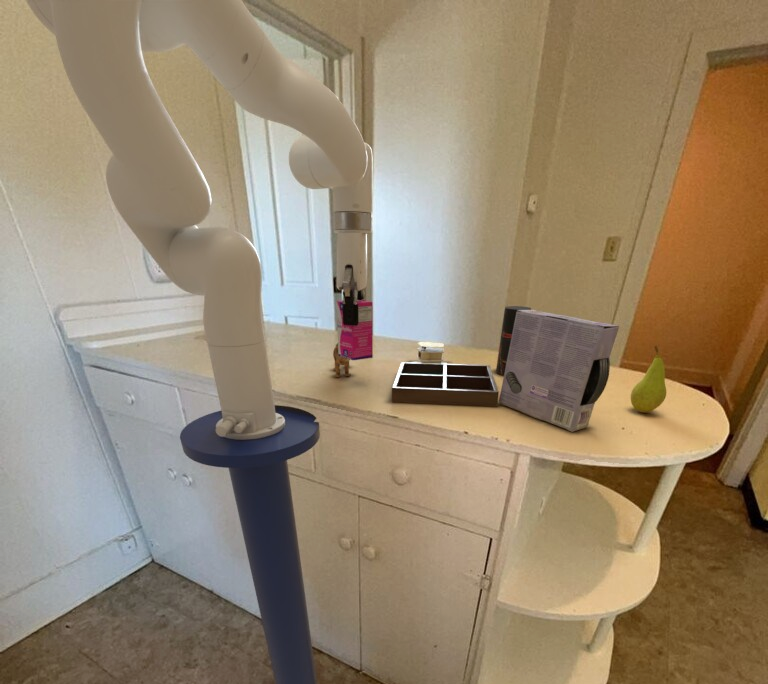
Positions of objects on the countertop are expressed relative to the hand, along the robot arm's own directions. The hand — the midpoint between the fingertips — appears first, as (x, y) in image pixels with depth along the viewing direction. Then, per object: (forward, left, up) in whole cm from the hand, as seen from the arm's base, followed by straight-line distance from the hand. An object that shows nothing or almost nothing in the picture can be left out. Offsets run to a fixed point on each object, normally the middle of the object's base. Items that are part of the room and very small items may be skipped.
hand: (354, 321), depth 92 cm
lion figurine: (+9, +5, -14) cm, 17 cm away
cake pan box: (-16, -39, -14) cm, 45 cm away
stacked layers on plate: (+19, -16, -14) cm, 28 cm away
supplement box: (0, 0, -8) cm, 8 cm away
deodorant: (+15, -36, -14) cm, 41 cm away
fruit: (-11, -59, -14) cm, 62 cm away
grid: (-1, -20, -13) cm, 24 cm away
